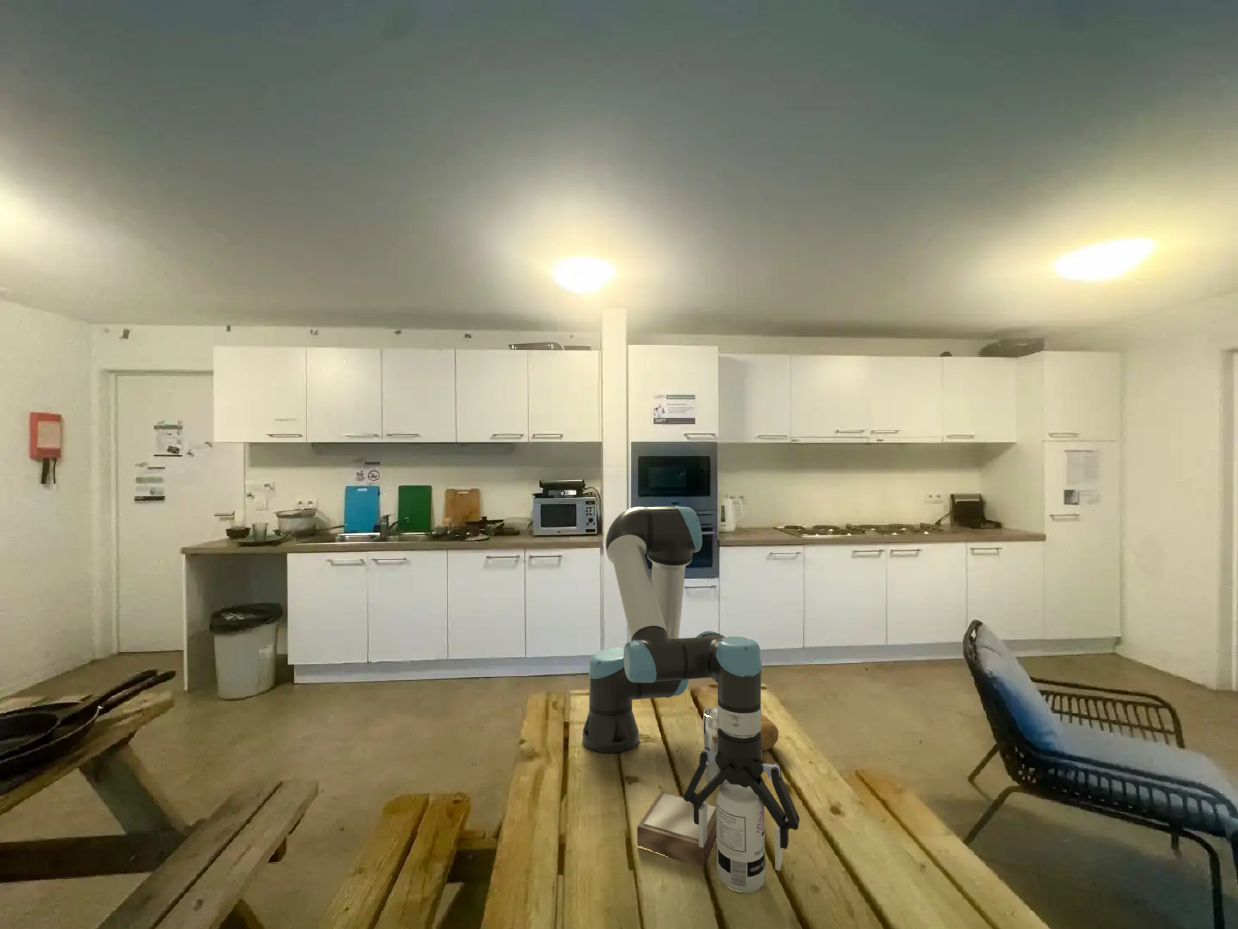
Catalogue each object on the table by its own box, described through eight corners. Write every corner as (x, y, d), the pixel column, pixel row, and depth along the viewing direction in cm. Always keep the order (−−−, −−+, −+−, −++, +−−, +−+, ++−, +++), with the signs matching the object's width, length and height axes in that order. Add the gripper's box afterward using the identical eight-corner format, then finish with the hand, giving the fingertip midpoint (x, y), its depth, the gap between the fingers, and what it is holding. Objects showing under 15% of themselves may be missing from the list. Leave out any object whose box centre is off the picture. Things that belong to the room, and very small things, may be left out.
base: (637, 848, 102) (637, 825, 102) (661, 810, 114) (661, 789, 114) (703, 868, 97) (703, 844, 97) (722, 826, 108) (722, 805, 109)
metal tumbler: (736, 773, 128) (735, 709, 129) (729, 788, 122) (728, 721, 123) (707, 767, 131) (707, 704, 132) (699, 781, 125) (698, 715, 125)
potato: (754, 731, 150) (754, 702, 150) (788, 755, 137) (788, 723, 137) (724, 738, 146) (724, 708, 147) (756, 762, 133) (756, 730, 134)
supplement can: (711, 863, 98) (711, 779, 99) (755, 860, 99) (755, 777, 99) (724, 897, 90) (723, 805, 91) (772, 894, 91) (771, 803, 91)
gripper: (666, 724, 97) (666, 846, 96) (810, 754, 87) (812, 891, 86) (679, 709, 104) (679, 822, 103) (815, 734, 94) (816, 861, 93)
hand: (739, 854), depth 95 cm, fingers open, 12 cm apart
